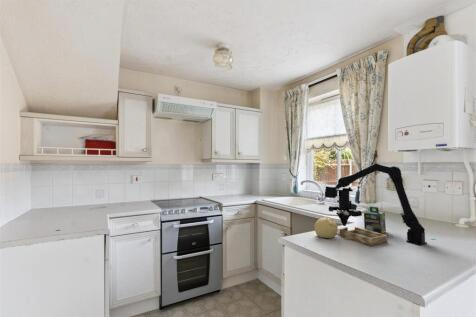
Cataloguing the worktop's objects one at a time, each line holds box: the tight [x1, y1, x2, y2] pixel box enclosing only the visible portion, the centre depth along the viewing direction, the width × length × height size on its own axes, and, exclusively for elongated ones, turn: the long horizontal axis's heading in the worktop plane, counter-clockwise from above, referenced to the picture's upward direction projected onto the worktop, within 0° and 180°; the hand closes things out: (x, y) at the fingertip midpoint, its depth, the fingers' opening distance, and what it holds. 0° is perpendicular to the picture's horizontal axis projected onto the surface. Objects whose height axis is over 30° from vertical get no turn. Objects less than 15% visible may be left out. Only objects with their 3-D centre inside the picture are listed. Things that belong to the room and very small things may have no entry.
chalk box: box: [363, 206, 387, 234], centre depth 140 cm, size 9×9×15 cm
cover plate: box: [336, 226, 349, 236], centre depth 141 cm, size 15×10×4 cm, turn 38°
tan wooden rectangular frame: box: [339, 226, 388, 247], centre depth 126 cm, size 18×13×4 cm
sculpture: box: [314, 216, 339, 239], centre depth 131 cm, size 12×12×11 cm
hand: (344, 225), depth 136 cm, fingers closed
